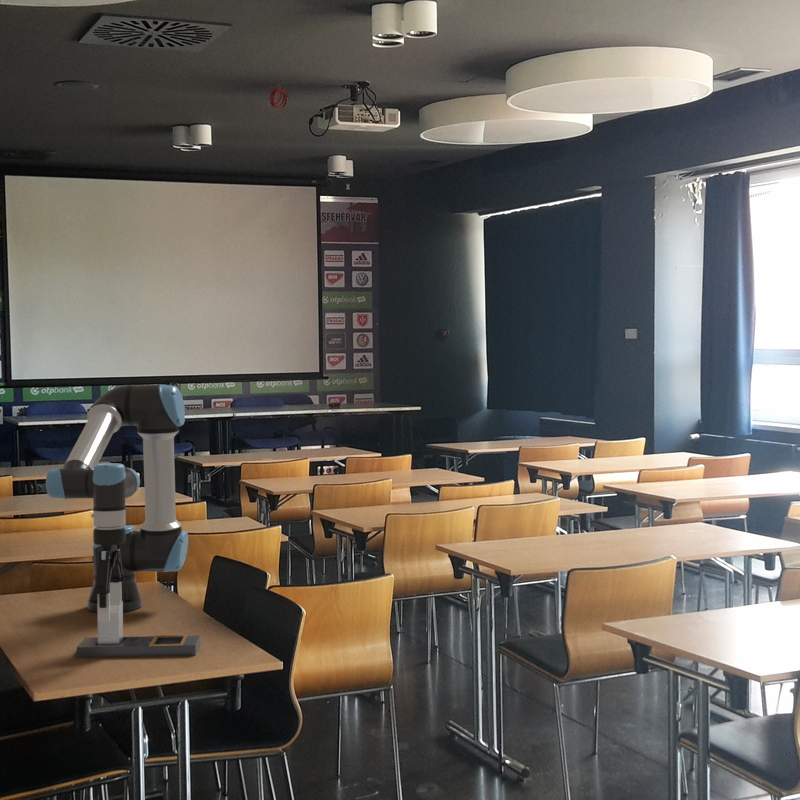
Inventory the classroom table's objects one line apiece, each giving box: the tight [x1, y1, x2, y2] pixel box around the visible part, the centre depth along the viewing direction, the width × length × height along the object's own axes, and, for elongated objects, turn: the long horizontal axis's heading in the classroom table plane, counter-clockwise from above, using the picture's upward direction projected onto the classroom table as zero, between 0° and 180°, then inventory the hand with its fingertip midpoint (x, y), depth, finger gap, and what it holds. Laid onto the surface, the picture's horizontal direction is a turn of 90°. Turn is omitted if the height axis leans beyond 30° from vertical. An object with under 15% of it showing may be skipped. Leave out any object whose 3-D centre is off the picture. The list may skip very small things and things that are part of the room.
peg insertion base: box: [76, 634, 201, 659], centre depth 252 cm, size 9×28×3 cm, turn 94°
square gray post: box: [97, 601, 124, 645], centre depth 251 cm, size 5×5×12 cm
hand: (109, 614), depth 251 cm, fingers open, 13 cm apart
